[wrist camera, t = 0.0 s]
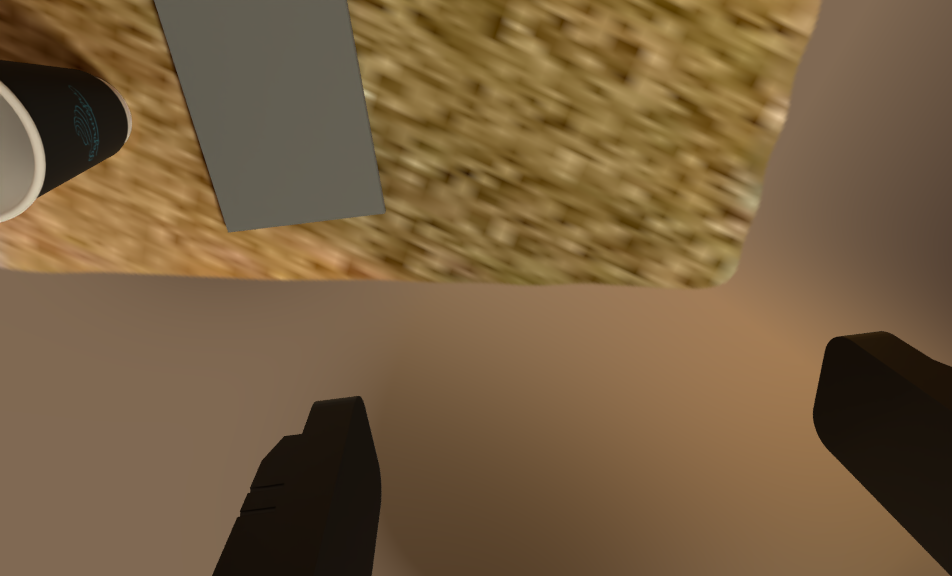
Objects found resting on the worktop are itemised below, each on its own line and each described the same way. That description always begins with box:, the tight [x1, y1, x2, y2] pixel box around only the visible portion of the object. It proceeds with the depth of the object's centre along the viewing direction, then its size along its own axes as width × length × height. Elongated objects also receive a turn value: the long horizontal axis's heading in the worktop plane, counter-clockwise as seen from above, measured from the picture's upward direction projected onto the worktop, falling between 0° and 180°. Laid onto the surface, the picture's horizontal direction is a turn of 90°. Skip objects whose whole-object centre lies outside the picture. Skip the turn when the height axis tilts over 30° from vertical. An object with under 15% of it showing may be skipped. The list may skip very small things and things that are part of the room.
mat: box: [154, 0, 386, 232], centre depth 32 cm, size 22×11×1 cm, turn 6°
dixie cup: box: [0, 60, 132, 222], centre depth 29 cm, size 8×8×11 cm
